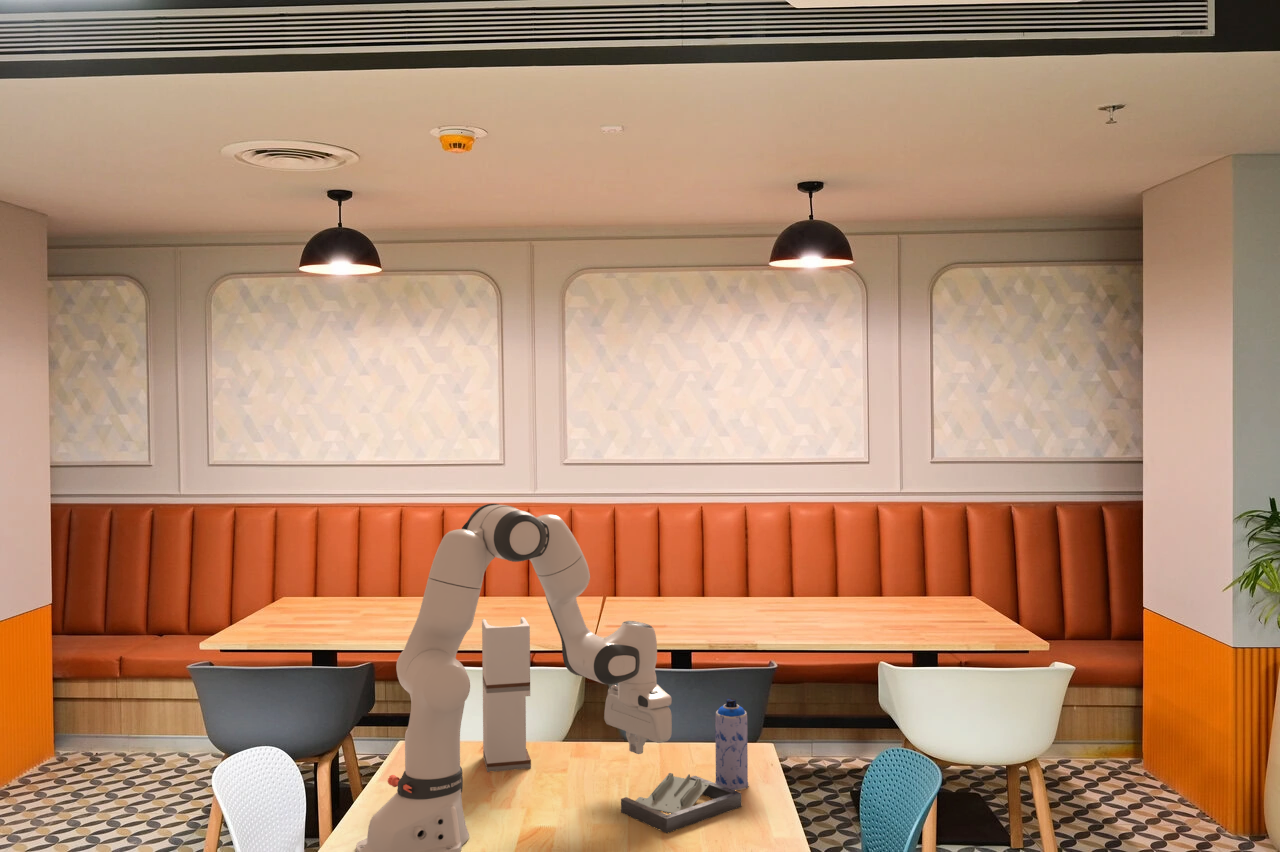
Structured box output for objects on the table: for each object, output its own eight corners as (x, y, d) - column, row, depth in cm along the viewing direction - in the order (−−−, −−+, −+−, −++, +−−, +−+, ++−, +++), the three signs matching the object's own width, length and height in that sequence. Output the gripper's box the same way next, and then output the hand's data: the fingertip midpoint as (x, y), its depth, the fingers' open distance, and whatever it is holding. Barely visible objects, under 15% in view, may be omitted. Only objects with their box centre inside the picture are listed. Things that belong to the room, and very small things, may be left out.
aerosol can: (755, 785, 243) (755, 699, 243) (731, 793, 238) (731, 706, 238) (731, 776, 250) (731, 693, 249) (707, 784, 245) (707, 699, 244)
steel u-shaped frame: (666, 833, 216) (666, 818, 216) (621, 812, 228) (621, 798, 228) (741, 806, 230) (741, 793, 230) (695, 788, 242) (695, 775, 242)
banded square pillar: (530, 768, 256) (529, 625, 256) (487, 772, 254) (485, 628, 254) (525, 753, 268) (524, 617, 267) (483, 757, 265) (482, 619, 265)
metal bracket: (660, 764, 242) (718, 776, 234) (664, 786, 244) (721, 798, 236) (628, 801, 231) (687, 814, 223) (632, 823, 232) (691, 837, 224)
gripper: (598, 685, 246) (597, 743, 246) (655, 703, 230) (654, 766, 230) (619, 681, 250) (618, 739, 250) (676, 699, 234) (675, 760, 234)
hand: (636, 752), depth 240 cm, fingers closed
